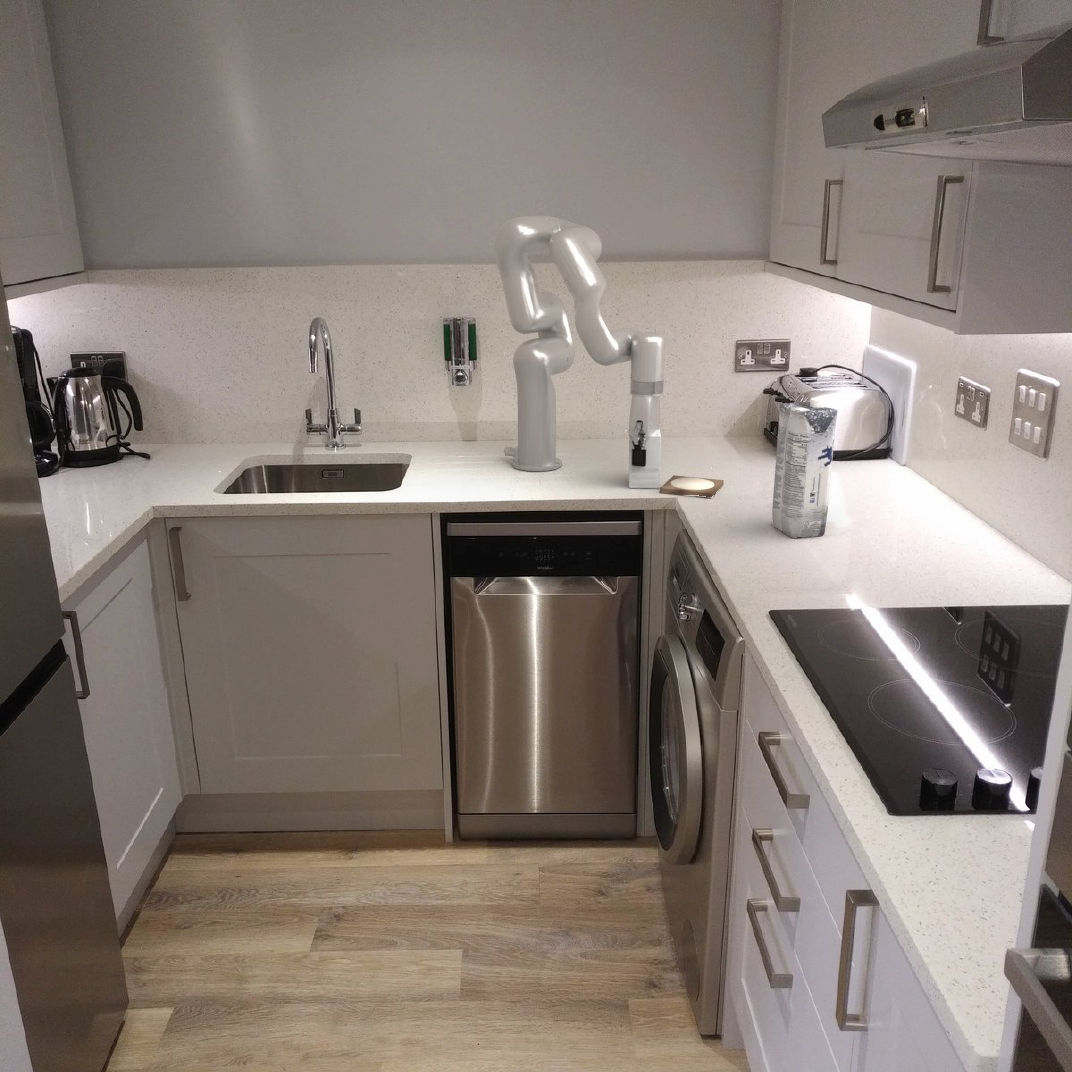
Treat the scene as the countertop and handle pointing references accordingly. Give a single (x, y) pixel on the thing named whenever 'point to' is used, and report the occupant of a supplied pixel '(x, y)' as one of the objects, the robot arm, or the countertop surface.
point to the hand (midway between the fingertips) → (644, 461)
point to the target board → (691, 486)
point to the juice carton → (803, 467)
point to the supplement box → (651, 471)
